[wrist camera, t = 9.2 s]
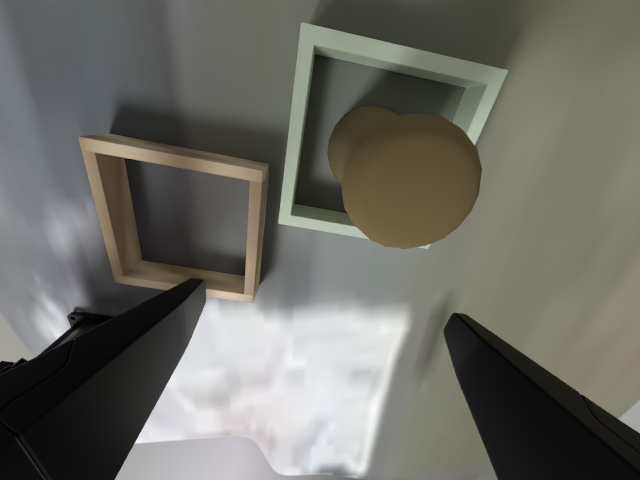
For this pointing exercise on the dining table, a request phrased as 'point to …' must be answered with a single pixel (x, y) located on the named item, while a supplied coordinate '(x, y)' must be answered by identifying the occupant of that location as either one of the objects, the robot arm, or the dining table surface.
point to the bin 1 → (119, 217)
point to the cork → (404, 175)
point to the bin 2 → (388, 56)
